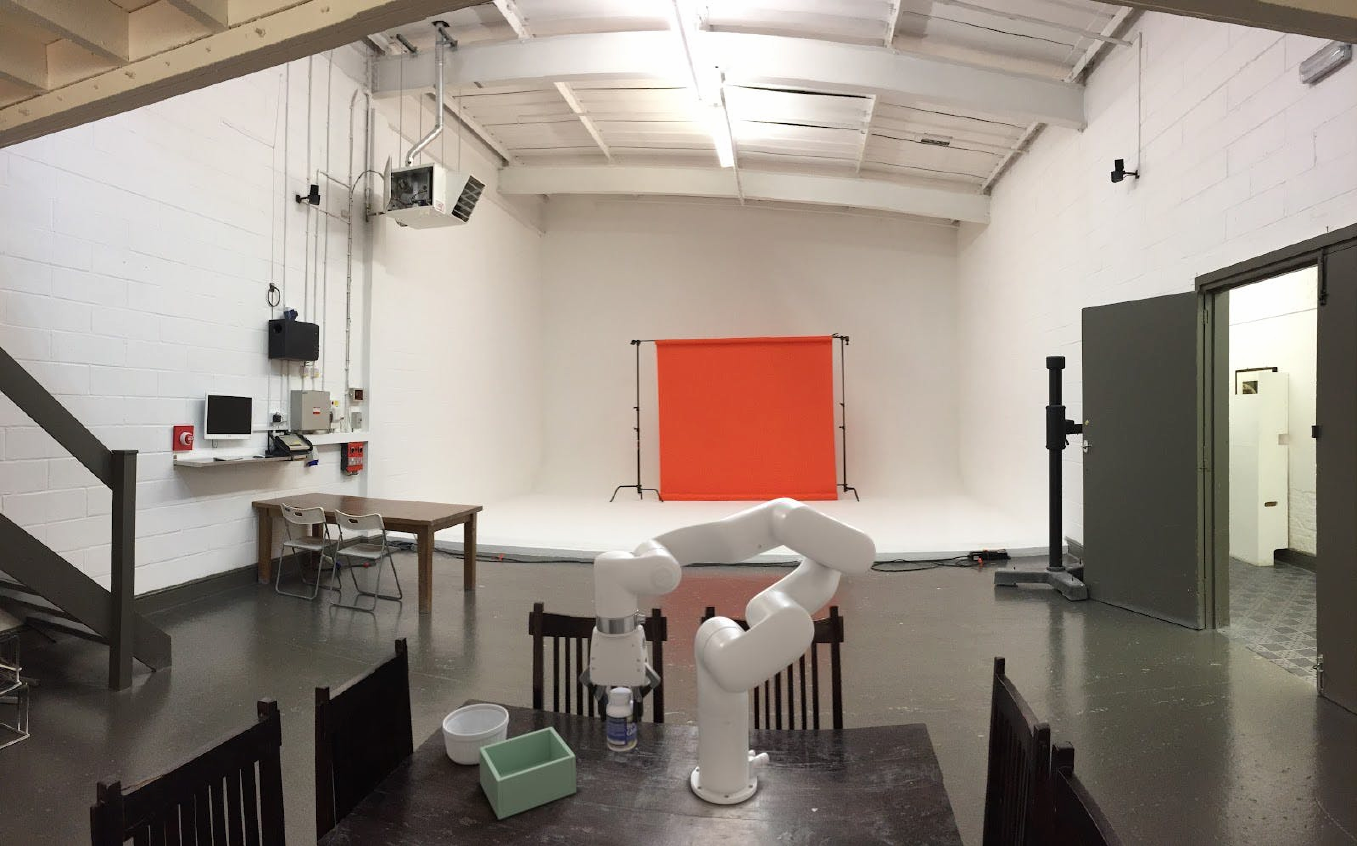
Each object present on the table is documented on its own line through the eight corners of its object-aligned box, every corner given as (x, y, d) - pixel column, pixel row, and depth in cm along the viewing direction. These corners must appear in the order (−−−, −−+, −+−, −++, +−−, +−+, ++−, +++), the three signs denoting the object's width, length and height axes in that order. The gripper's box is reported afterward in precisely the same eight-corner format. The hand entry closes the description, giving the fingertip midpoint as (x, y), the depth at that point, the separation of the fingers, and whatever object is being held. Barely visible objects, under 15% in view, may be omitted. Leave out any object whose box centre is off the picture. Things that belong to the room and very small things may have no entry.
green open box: (552, 759, 133) (551, 726, 132) (576, 792, 122) (575, 755, 122) (480, 782, 125) (479, 747, 125) (498, 819, 114) (497, 781, 114)
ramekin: (513, 731, 144) (512, 700, 143) (504, 766, 131) (503, 732, 130) (451, 736, 142) (450, 705, 142) (436, 771, 129) (435, 737, 129)
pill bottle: (632, 753, 116) (630, 700, 115) (603, 751, 117) (601, 698, 116) (640, 737, 121) (638, 686, 120) (612, 735, 122) (610, 684, 121)
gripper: (667, 615, 120) (671, 710, 121) (577, 613, 122) (581, 706, 123) (660, 630, 112) (663, 732, 113) (564, 628, 115) (569, 727, 116)
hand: (621, 717), depth 118 cm, fingers closed on pill bottle, 5 cm apart
